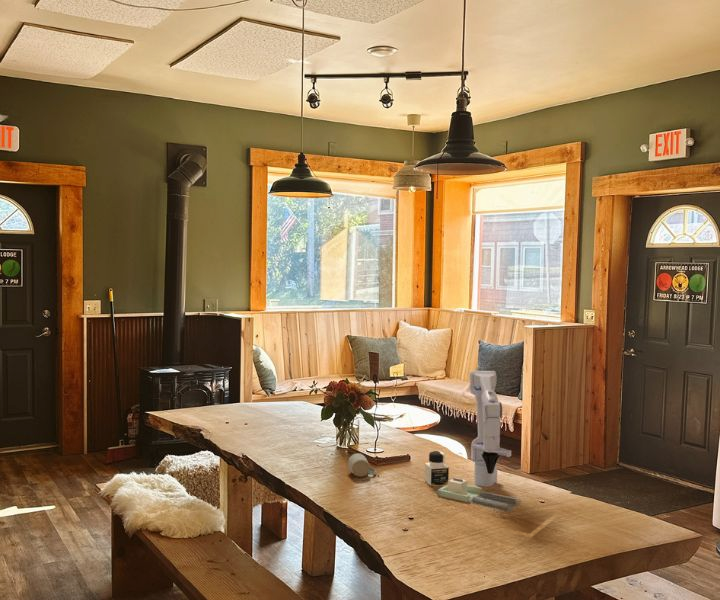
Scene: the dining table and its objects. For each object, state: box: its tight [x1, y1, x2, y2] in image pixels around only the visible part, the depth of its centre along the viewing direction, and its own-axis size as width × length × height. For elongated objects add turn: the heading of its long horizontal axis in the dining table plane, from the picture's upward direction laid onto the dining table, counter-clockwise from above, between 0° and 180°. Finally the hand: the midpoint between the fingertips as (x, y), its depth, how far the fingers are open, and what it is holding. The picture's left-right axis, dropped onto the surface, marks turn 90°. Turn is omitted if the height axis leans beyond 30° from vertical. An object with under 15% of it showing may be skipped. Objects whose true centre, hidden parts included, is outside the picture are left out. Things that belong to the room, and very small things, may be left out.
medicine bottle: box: [424, 450, 450, 487], centre depth 286 cm, size 7×7×12 cm
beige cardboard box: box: [448, 477, 468, 495], centre depth 271 cm, size 5×5×6 cm
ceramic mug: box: [347, 453, 377, 478], centre depth 295 cm, size 11×8×8 cm
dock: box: [467, 490, 521, 512], centre depth 263 cm, size 12×15×2 cm
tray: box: [436, 484, 483, 503], centre depth 271 cm, size 12×12×3 cm
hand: (490, 473), depth 269 cm, fingers closed
